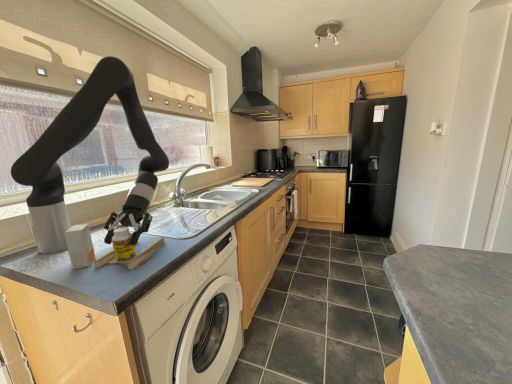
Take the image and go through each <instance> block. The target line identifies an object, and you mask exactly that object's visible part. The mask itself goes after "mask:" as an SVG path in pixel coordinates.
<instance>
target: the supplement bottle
mask: <svg viewBox="0 0 512 384" xmlns="http://www.w3.org/2000/svg"><path fill="white" fill-rule="evenodd" d="M114 229H115V228H114ZM132 233H133V232H130V230H129V227H121V228H118V229H115V230H114V236H113V237H112V243H111V244H112V249H114V254H115V259H116V261H117V262H119V263H124V262H127V261H129V260H130V259H131V258H133V257H134V256H136V255H137V254H136V248H135V245H130V244H129V241H130V238H131V236H132Z"/></svg>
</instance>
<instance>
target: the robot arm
mask: <svg viewBox="0 0 512 384" xmlns="http://www.w3.org/2000/svg"><path fill="white" fill-rule="evenodd" d="M135 83H136V82H135V79H134V74H133V71H132V70H131V69H130V68H129V66H128V65H127V64H126V63H125V61H123V60H122V59H121V58H119V57H117V56H113V55H107V56H104V57H102V58H101V59H100V60H99V61H97V64H96V65H95V66H94V68H93V70H92V71H91V73H90V75H89V76H88V78H87V80H86V82H85V83H84V84H83V86H81V88H80V89H79V90H78V91H77V92H76V93H75V94H74V96H73V97H72V98H71V99H70V101H68V103H66V105H65V106H64V107H63V108H62V109H61V110H60V112H58V114H57V115H56V116H55V117H54V119H53V121H52V122H51V123H50V124H49V125H48V126H47V127H46V129H45V130H44V131H43V133H42V134H41V135H40V136H39V138H38V139H37V140H36V141H35V142H34V144H32V145H31V147H29V148H28V149H27V150H26V151H25V152H24V153H22V154H21V155H20V156H19V157H18V158H17V159H16V160H15V161H14V162H13V164H12V166H11V168H10V176H11V178H12V179H13V180H14V181H15V183H17V184H19V185H21V186H26V187H32V190H31V192H30V193H29V195H28V196H27V197H26V199H25V200H26V201H25V202H26V205H27V209H28V212H29V215H30V219H31V222H32V226H31V230H32V233H33V236H34V239H35V243H36V247H37V250H38V252H40V254H41V255H52V254H56V253H61V252H64V251H68V247H67V243H66V239H65V234H64V232H66V231H67V230H68V229H69V228H71V227H72V226H71V222H70V218H69V214H68V209H67V206H66V202H65V201H66V200H65V196H64V195H65V193H66V192H65V191H66V189H65V183H64V176H63V172H62V170H61V167H60V165H59V164H58V161H59V159H60V158H62V156H63V155H65V154H66V153H68V152H69V151H71V150H72V149H74V148H75V147H76V146H78V145H80V144H81V143H82V142H83V141H85V140H86V139H87V138H88V136H89V135H90V134H91V133H92V132H93V130H95V128H96V127H97V125H98V124H99V122H100V120H101V117H102V115H103V112H104V109H105V108H106V105H107V104H108V102H109V101H110V100H111V99H112V98H113V96H115V95H116V97H117V99H118V102H120V105H121V107H122V110H123V113H124V115H125V119H126V123H127V126H128V129H129V132H130V134H131V137H132V139H133V140H134V142H135V145H136V148H138V150H141V151H143V150H144V151H146V152H147V153H148V155H145V156H143V157H142V158H141V160H140V161H139V164H138V170H137V172H138V173H137V176H136V178H135V181H134V183H133V185H132V186H131V187H130V189H129V191H128V194H127V196H126V198H125V200H124V202H123V204H122V207H121V208H122V209H121V212H120V213H116V212H115V211H113V212H111V213H110V215H109V216H108V219H107V221H106V223H104V226H103V229H105V230H107V233H106V235H105V237H104V240H103V243H104V244H106V245H111V244H113V243H112V237H113V236H114V230H115V229H118V228H121V227H128V228H129V227H130V228H133V231H132V232H131V233H132V236H131V238H130V241H129V244H130V245H134V246H136V245H137V244H138V243H139V239H140V237H141V235H142V234H143V233H148V232H149V230H150V227H151V223H152V221H153V215H152V214H150V212H148V209H149V207H150V204H151V202H152V200H153V196H154V193H155V190H156V189H157V185H158V183H159V177H158V176H157V175H156V174H155V173H160V172H164V171H166V170H168V169H169V166H170V161H169V157H168V155H167V153H166V152H165V151H164V149H163V148H162V147H161V145H160V144H159V143H158V141H157V140H156V137H155V135H154V133H153V131H152V127H151V126H150V123H149V121H148V119H147V117H146V114H145V112H144V110H143V107H142V104H141V102H140V99H139V94H138V91H137V88H136V84H135ZM141 222H142V223H141ZM137 242H138V243H137ZM136 243H137V244H136Z"/></svg>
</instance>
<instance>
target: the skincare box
mask: <svg viewBox="0 0 512 384" xmlns="http://www.w3.org/2000/svg"><path fill="white" fill-rule="evenodd" d="M64 234H65V239H66V243H67V247H68V249H67V251H68V256H69V259H70V263H71V269H72V270H77V269H81V268H85V267H90V265H91V264H92V262H93V261H94V260H95V259H96V254H95V249H94V244H93V239H92V235H91V230H90V225H89V223H85V224H77V225H75V224H74V225H73V226H71V228H69V229H68V230H67V231H66V232H64Z"/></svg>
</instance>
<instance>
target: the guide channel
mask: <svg viewBox="0 0 512 384" xmlns="http://www.w3.org/2000/svg"><path fill="white" fill-rule="evenodd" d="M138 243H139V241H138V242H137V243H136V244H135V245H137V244H138ZM164 245H165V237H164V236H163V237H161V236H160V237H159V238H158V239H156V240H154V242H152V243H151V244H149V245H148V246H147V247H145V248H144V249H142V250H141V251H139V253H137V254H136V256H134V257H133V258H131V259H130V260H129V261H127V262H124V263H119V262H117V261H116V259H115V254H114V248H112V249H110V250H109V251H107V252H106V253H103V254H102V255H100V256H98V257H97V258H94V260H93V261H94V266H95V268H97V269H99V268H101V267H102V266H105V265H106V264H111V265H112V264H113V265H127V270H129V271H132V270H134V269H135V268H136V267H137V266H143V265H144V264H145V263H147V262H148V261H149V260H150V259H151V258H152V257H153V256H152V254H154V253H155V252H156V251H157V250H159V249H160V248H161V247H163V246H164Z"/></svg>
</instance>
